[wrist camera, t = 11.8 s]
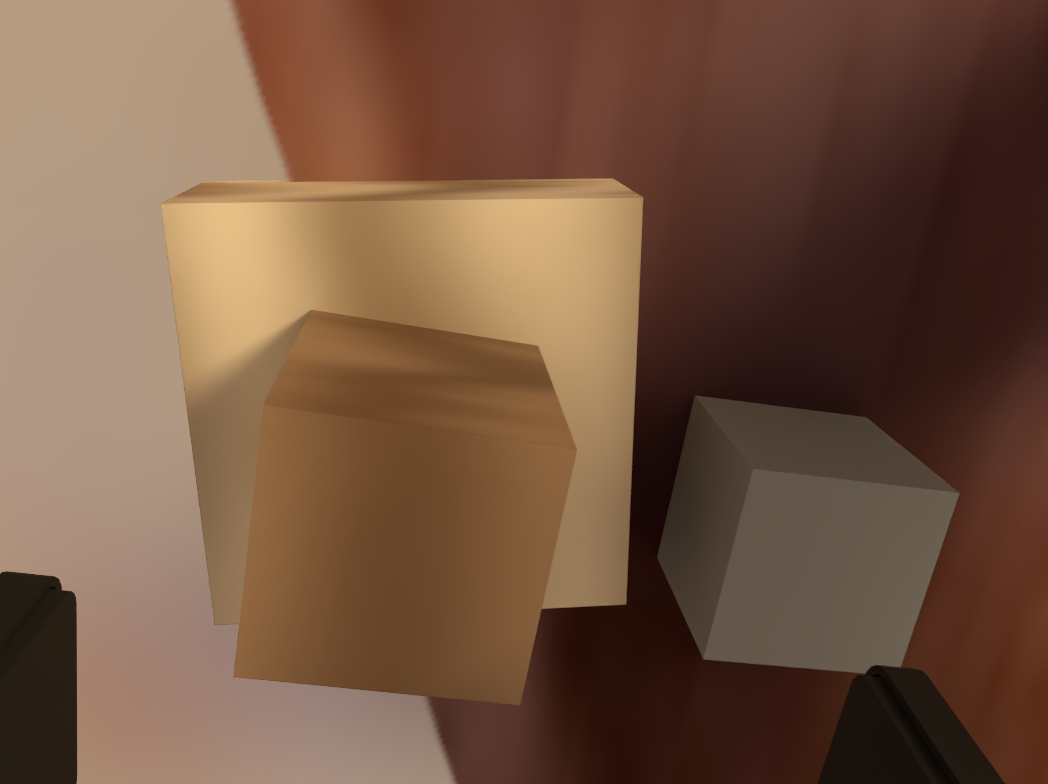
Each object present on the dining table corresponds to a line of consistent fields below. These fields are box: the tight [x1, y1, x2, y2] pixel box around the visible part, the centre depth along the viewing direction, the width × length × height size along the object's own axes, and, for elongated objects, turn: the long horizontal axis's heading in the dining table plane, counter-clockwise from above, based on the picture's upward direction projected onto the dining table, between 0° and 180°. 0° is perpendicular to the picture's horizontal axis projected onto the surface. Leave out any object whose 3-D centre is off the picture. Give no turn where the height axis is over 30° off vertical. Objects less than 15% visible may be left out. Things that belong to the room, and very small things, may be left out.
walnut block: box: [234, 310, 577, 705], centre depth 18 cm, size 5×5×6 cm
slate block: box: [657, 396, 959, 673], centre depth 24 cm, size 5×5×5 cm
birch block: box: [161, 179, 643, 625], centre depth 23 cm, size 10×10×4 cm
